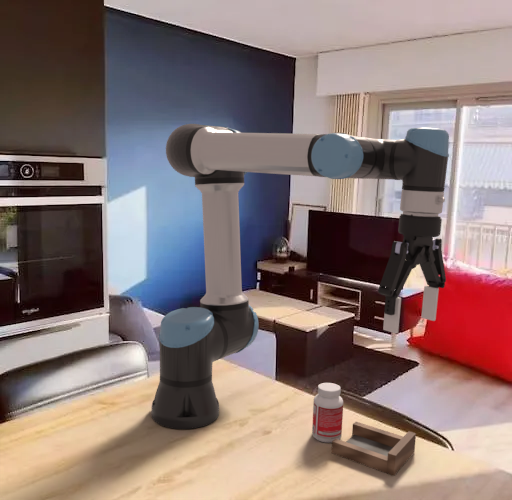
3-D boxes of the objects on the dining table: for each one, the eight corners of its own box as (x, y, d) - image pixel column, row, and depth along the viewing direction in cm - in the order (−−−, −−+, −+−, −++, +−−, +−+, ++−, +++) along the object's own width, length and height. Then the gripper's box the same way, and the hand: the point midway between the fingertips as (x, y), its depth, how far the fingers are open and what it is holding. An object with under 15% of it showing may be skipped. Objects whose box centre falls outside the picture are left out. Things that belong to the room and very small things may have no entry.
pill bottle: (347, 439, 114) (350, 389, 112) (325, 446, 111) (328, 395, 109) (327, 427, 119) (330, 378, 118) (305, 433, 116) (308, 384, 114)
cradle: (331, 453, 108) (332, 434, 108) (355, 432, 117) (356, 414, 117) (394, 475, 101) (395, 455, 100) (414, 452, 110) (416, 433, 109)
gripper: (402, 218, 89) (391, 342, 93) (471, 213, 106) (459, 318, 110) (364, 214, 95) (355, 331, 98) (435, 210, 112) (425, 310, 115)
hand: (410, 325), depth 104 cm, fingers open, 13 cm apart
